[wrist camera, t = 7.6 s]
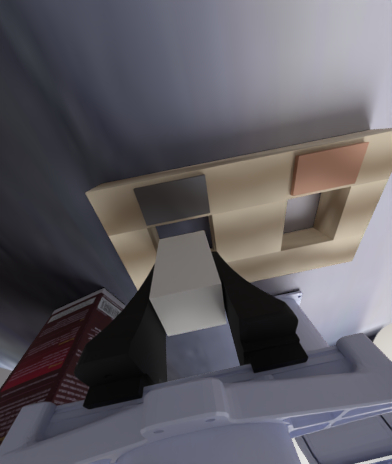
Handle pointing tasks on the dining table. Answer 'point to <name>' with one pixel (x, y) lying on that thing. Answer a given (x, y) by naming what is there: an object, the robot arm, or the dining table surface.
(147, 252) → the socket block
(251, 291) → the robot arm
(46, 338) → the supplement box
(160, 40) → the dining table surface
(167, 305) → the plug
